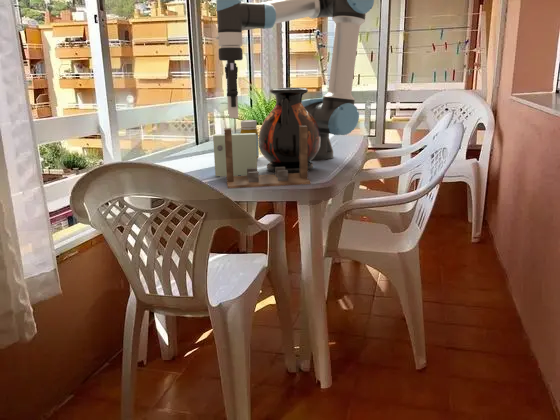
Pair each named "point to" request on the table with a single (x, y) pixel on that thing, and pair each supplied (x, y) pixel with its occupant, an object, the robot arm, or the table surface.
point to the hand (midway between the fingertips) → (233, 116)
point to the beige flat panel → (235, 153)
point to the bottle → (250, 130)
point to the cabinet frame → (280, 173)
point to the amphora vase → (288, 131)
